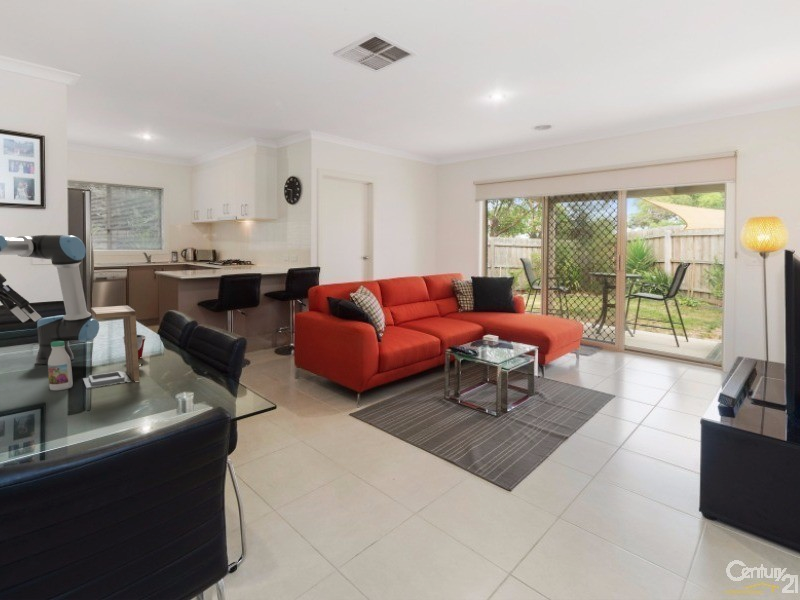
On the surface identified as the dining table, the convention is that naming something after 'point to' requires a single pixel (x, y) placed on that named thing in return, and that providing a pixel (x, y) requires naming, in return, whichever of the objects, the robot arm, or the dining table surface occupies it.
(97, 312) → the overhang shelf
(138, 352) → the plastic cup
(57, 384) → the milk bottle
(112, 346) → the dining table surface
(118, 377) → the grey square tray
